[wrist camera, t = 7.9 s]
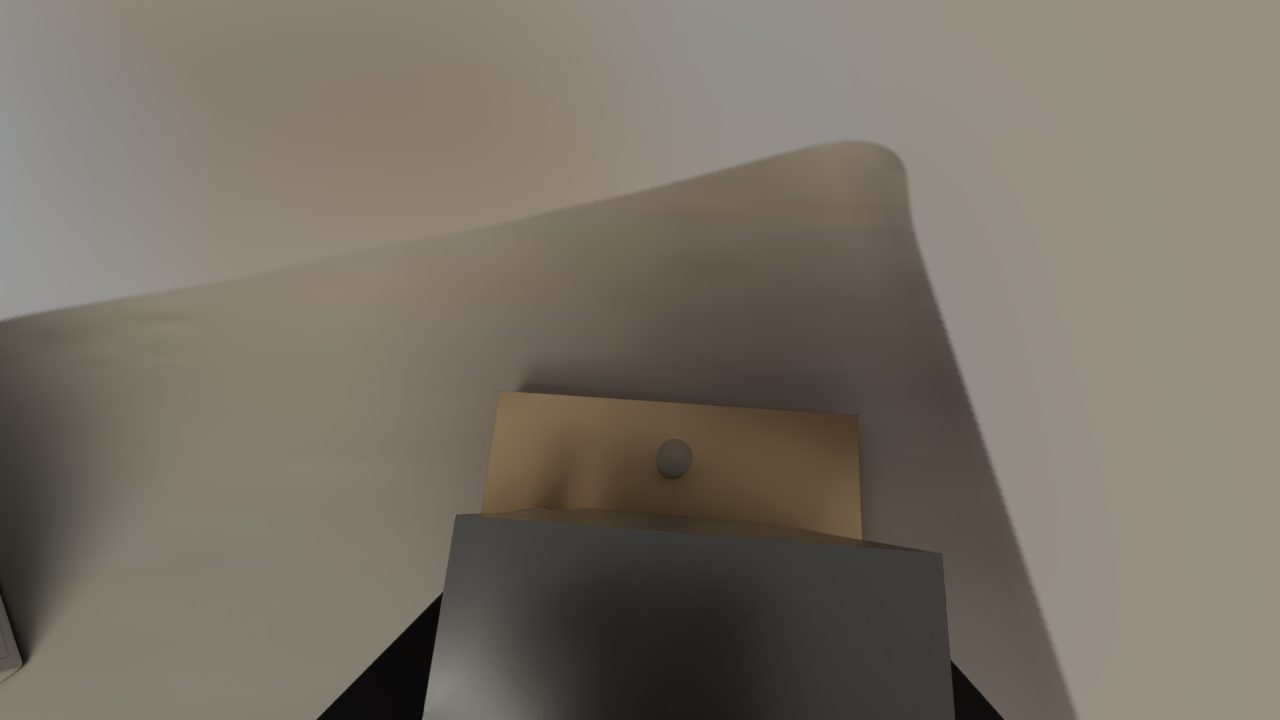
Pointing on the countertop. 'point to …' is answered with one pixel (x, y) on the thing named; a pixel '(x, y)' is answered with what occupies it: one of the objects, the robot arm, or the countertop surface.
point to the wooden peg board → (675, 461)
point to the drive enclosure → (684, 622)
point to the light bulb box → (7, 647)
